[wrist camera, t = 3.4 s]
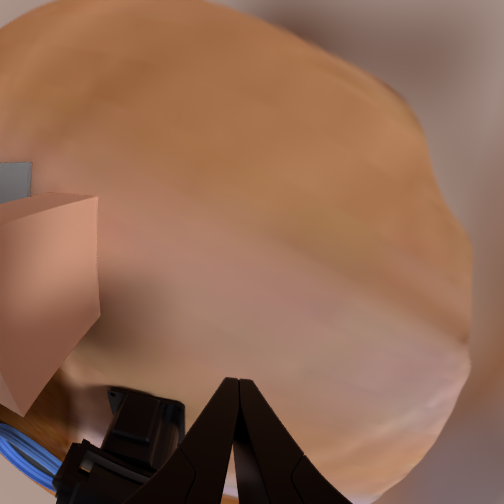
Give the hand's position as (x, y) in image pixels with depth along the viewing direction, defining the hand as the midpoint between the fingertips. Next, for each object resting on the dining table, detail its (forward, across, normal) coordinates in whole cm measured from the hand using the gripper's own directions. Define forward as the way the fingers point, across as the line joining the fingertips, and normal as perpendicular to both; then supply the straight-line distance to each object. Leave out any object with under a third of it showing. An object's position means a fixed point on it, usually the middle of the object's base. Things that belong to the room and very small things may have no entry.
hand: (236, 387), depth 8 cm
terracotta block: (+9, +11, 0) cm, 14 cm away
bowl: (+9, +30, +39) cm, 50 cm away
